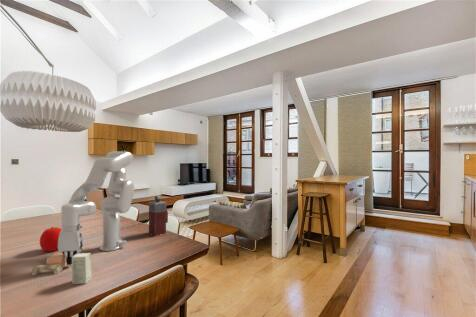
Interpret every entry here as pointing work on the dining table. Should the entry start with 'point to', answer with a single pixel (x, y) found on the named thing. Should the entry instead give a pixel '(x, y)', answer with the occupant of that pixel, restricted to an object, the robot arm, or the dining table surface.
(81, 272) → the skincare box
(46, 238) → the tomato
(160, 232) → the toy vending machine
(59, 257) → the block
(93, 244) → the dining table surface
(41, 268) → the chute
